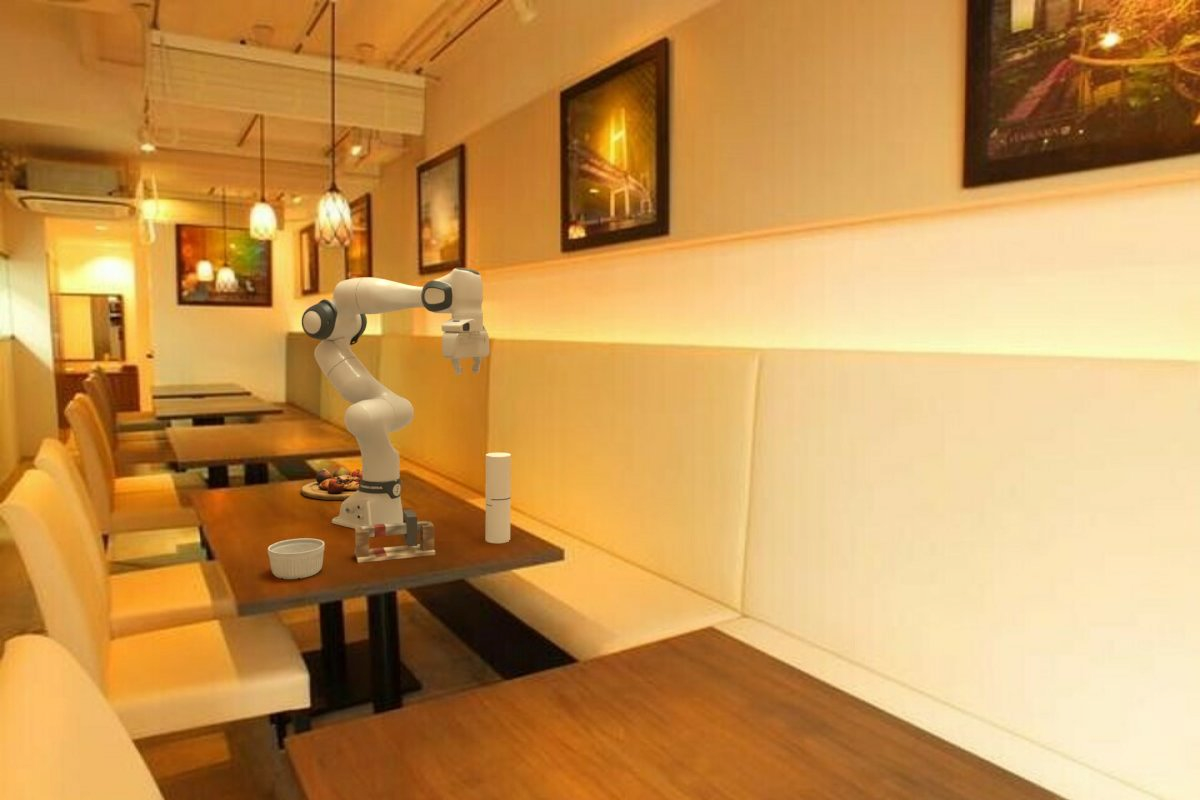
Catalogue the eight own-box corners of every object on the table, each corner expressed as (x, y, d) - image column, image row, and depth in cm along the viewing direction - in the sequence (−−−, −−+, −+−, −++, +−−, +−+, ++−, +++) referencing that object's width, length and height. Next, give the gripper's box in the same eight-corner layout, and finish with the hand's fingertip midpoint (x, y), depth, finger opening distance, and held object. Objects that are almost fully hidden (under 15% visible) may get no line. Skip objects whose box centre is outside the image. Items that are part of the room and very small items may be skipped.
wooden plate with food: (360, 505, 260) (360, 481, 259) (281, 496, 268) (281, 473, 268) (409, 488, 290) (409, 466, 290) (336, 480, 299) (336, 460, 298)
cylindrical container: (505, 544, 217) (506, 457, 214) (481, 542, 218) (482, 456, 216) (513, 537, 224) (514, 453, 221) (490, 535, 225) (490, 451, 223)
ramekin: (256, 576, 186) (255, 549, 186) (295, 561, 199) (294, 535, 198) (299, 584, 182) (298, 556, 181) (336, 568, 194) (336, 541, 193)
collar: (407, 546, 203) (407, 517, 202) (403, 538, 210) (402, 510, 209) (417, 545, 204) (417, 516, 203) (412, 537, 211) (412, 509, 210)
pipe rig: (357, 562, 198) (357, 531, 197) (354, 554, 205) (354, 523, 205) (435, 554, 206) (435, 524, 205) (429, 546, 213) (429, 517, 212)
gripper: (476, 325, 229) (476, 371, 231) (438, 325, 210) (438, 375, 212) (494, 325, 227) (494, 371, 229) (457, 325, 208) (457, 376, 210)
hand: (467, 373), depth 220 cm, fingers open, 8 cm apart
